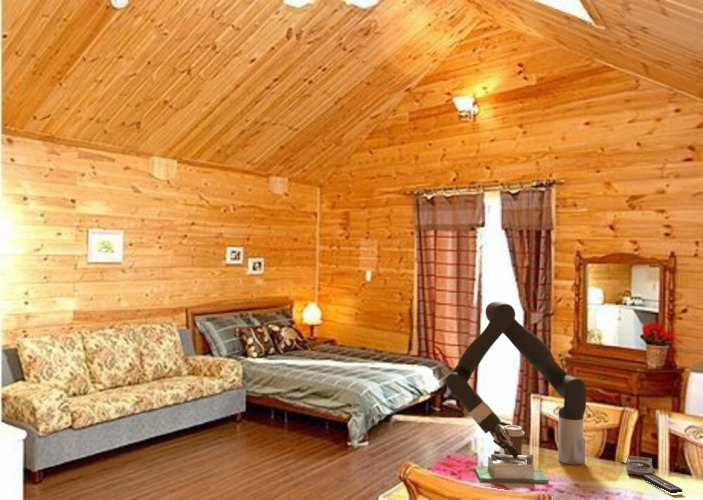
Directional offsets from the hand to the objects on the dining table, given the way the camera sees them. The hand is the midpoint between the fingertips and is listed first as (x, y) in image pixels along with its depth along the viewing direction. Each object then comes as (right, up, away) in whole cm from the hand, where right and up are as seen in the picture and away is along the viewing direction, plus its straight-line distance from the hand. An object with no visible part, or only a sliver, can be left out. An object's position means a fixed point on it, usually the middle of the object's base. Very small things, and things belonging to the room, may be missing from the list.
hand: (517, 455), depth 218 cm
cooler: (-2, -8, +1) cm, 8 cm away
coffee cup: (+4, -8, +22) cm, 24 cm away
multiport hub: (+49, -9, -8) cm, 50 cm away
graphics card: (+48, -9, +9) cm, 49 cm away
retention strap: (-2, -1, +1) cm, 3 cm away
